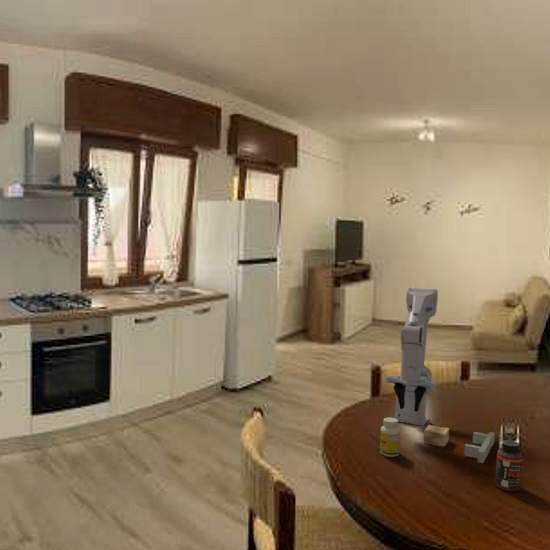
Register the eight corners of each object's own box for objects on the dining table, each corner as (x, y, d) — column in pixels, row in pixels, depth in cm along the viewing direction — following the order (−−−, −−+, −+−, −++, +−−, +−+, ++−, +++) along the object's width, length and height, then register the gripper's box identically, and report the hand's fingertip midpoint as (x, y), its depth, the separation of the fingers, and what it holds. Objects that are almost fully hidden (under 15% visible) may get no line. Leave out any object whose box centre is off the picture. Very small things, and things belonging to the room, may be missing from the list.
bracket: (462, 458, 165) (462, 448, 164) (475, 438, 180) (475, 429, 180) (483, 463, 162) (483, 452, 162) (494, 442, 178) (494, 432, 177)
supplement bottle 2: (509, 494, 144) (511, 449, 143) (489, 484, 149) (492, 440, 148) (526, 489, 147) (529, 445, 145) (506, 480, 152) (509, 436, 151)
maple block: (423, 444, 176) (424, 430, 176) (428, 437, 181) (428, 424, 181) (444, 447, 173) (444, 434, 173) (448, 441, 178) (449, 428, 178)
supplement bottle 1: (377, 449, 170) (378, 416, 169) (396, 449, 171) (397, 416, 170) (382, 457, 165) (384, 423, 164) (401, 457, 165) (403, 422, 164)
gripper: (383, 364, 179) (381, 408, 181) (431, 371, 172) (429, 417, 174) (391, 360, 185) (389, 402, 187) (437, 366, 178) (435, 410, 180)
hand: (409, 409), depth 181 cm, fingers open, 4 cm apart
